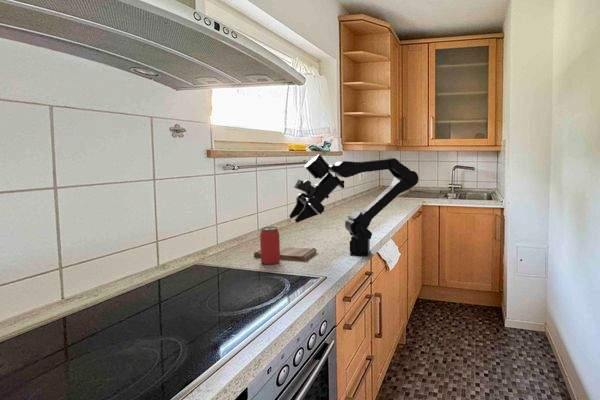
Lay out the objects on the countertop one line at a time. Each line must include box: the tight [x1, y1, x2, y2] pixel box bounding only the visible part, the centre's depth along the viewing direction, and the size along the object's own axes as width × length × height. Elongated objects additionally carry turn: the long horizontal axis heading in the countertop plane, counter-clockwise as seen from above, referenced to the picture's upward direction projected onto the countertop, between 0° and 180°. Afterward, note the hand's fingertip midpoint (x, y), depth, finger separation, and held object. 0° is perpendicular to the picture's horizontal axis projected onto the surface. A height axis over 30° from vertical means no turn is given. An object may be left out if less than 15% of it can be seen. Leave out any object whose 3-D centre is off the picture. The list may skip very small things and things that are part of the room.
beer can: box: [259, 226, 281, 265], centre depth 145 cm, size 7×7×12 cm
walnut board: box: [253, 246, 318, 262], centre depth 155 cm, size 20×12×2 cm, turn 69°
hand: (292, 219), depth 147 cm, fingers open, 9 cm apart
